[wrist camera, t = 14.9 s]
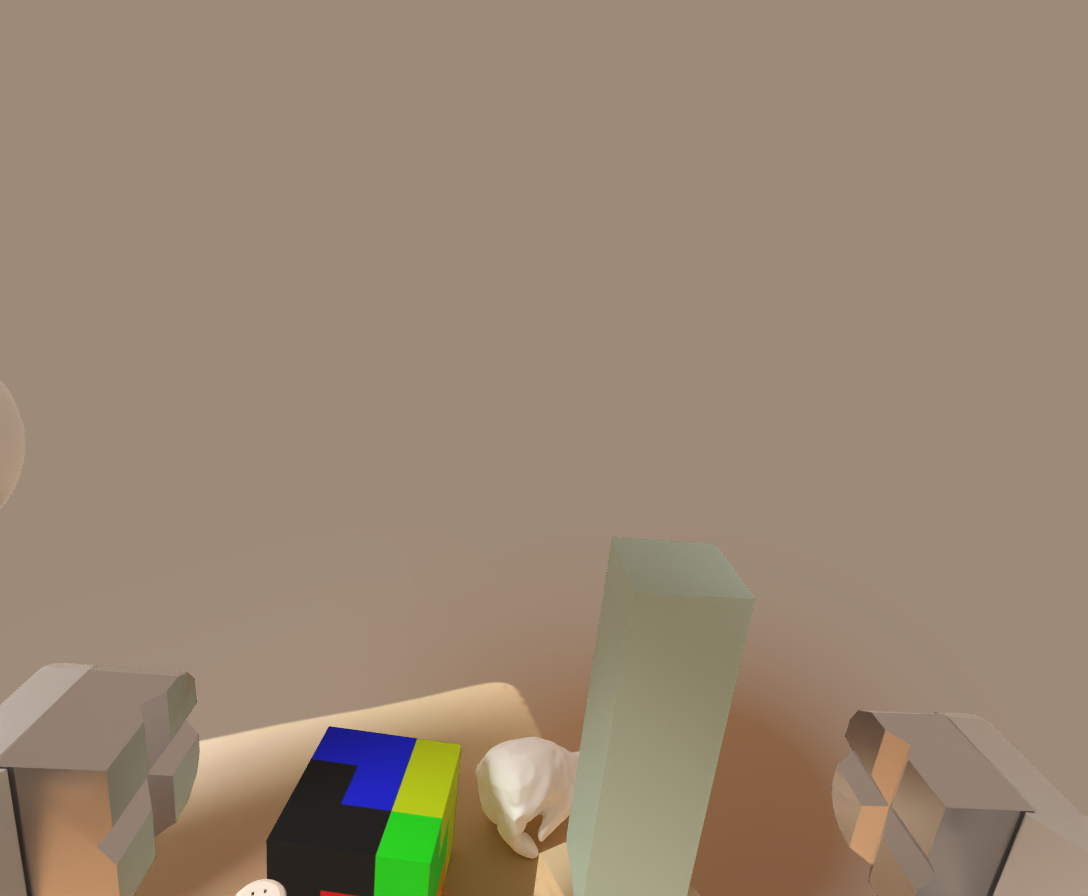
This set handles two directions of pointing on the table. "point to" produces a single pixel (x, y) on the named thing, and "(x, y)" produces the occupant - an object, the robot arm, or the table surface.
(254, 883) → the pepper shaker
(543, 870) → the tower top
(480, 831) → the table surface
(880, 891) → the robot arm
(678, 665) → the pillar
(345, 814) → the puzzle toy
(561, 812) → the white animal figurine
